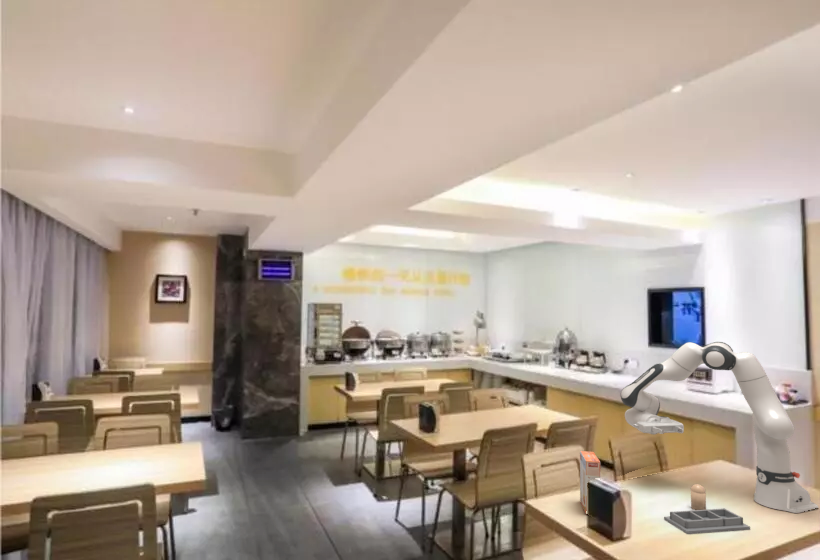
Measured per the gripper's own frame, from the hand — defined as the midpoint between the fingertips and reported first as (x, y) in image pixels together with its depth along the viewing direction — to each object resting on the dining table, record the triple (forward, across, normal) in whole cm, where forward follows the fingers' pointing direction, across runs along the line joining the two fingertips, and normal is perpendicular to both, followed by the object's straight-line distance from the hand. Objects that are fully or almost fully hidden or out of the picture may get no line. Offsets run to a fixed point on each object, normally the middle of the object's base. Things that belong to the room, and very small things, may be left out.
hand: (672, 431), depth 207 cm
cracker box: (+8, -44, +28) cm, 52 cm away
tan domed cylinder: (+14, 0, +27) cm, 31 cm away
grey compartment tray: (+27, -8, +27) cm, 39 cm away
